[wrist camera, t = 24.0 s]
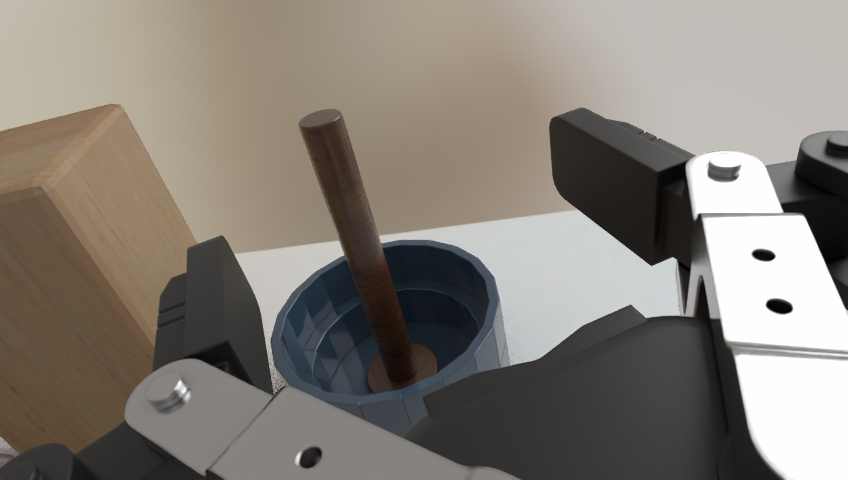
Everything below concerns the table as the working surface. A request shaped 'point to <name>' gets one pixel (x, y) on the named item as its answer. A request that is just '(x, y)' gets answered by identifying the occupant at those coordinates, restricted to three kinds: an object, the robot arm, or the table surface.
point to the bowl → (425, 321)
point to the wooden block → (80, 274)
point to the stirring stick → (364, 254)
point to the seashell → (7, 456)
